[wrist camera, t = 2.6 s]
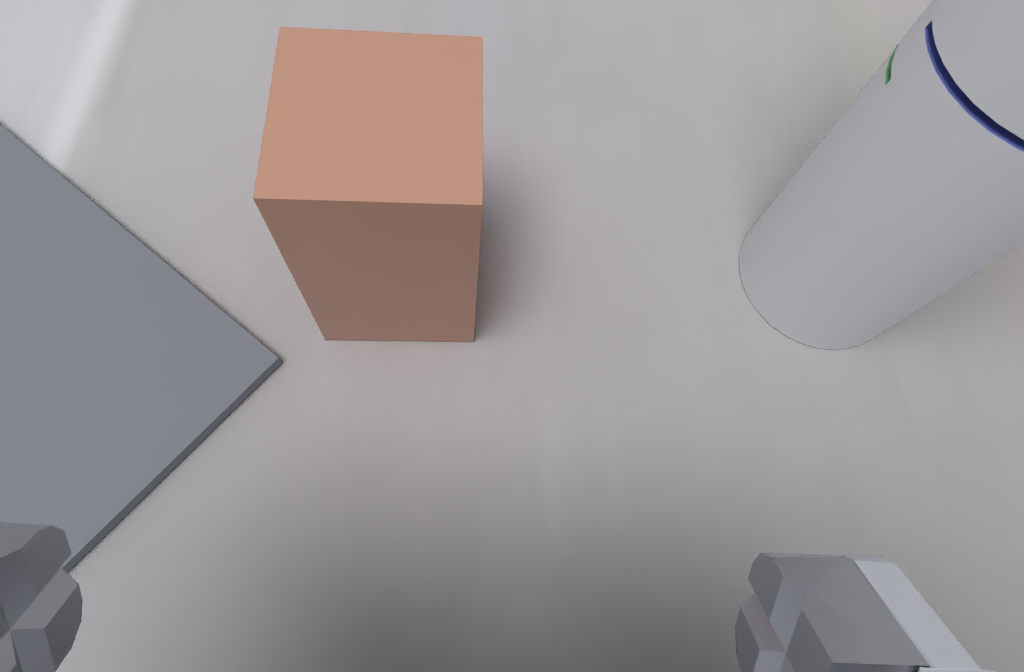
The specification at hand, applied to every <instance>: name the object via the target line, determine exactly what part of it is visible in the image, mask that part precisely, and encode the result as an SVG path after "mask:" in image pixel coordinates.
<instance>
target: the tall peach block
mask: <svg viewBox="0 0 1024 672" xmlns="http://www.w3.org/2000/svg"><path fill="white" fill-rule="evenodd" d="M253 199H254V201H255V203H256V205H257V207H258V209H259V211H260V213H261V215H262V217H263V219H264V221H265V223H266V225H267V226H268V228H269V230H270V232H271V234H272V236H273V238H274V240H275V242H276V244H277V246H278V248H279V250H280V252H281V254H282V256H283V258H284V260H285V262H286V264H287V266H288V268H289V270H290V272H291V274H292V276H293V278H294V280H295V281H296V283H297V285H298V287H299V289H300V291H301V293H302V295H303V297H304V299H305V301H306V303H307V305H308V307H309V309H310V311H311V313H312V315H313V317H314V319H315V321H316V323H317V325H318V327H319V329H320V331H321V333H322V334H323V336H324V338H325V340H377V341H456V342H474V330H475V315H476V300H477V285H478V270H479V254H480V239H481V224H482V209H483V37H471V36H451V35H431V34H411V33H392V32H372V31H352V30H332V29H312V28H293V27H280V31H279V37H278V43H277V50H276V56H275V62H274V69H273V75H272V81H271V88H270V94H269V101H268V107H267V113H266V120H265V126H264V132H263V139H262V145H261V151H260V158H259V164H258V171H257V177H256V183H255V190H254V196H253Z"/></svg>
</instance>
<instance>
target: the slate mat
mask: <svg viewBox="0 0 1024 672" xmlns="http://www.w3.org/2000/svg"><path fill="white" fill-rule="evenodd" d="M281 364H282V362H281V360H280V359H279V358H278V357H277V356H276V355H275V354H274V353H272V352H271V351H270V350H269V349H268V348H266V347H265V346H264V345H263V344H262V343H260V342H259V341H258V340H257V339H256V338H254V337H253V336H252V335H251V334H250V333H249V332H247V331H246V330H245V329H244V328H243V327H241V326H240V325H239V324H238V323H237V322H235V321H234V320H233V319H232V318H231V317H229V316H228V315H227V314H226V313H225V312H223V311H222V310H221V309H220V308H219V307H218V306H216V305H215V304H214V303H213V302H212V301H210V300H209V299H208V298H207V297H206V296H204V295H203V294H202V293H201V292H200V291H198V290H197V289H196V288H195V287H194V286H193V285H191V284H190V283H189V282H188V281H187V280H185V279H184V278H183V277H182V276H181V275H179V274H178V273H177V272H176V271H175V270H173V269H172V268H171V267H170V266H169V265H167V264H166V263H165V262H164V261H163V260H162V259H160V258H159V257H158V256H157V255H156V254H154V253H153V252H152V251H151V250H150V249H148V248H147V247H146V246H145V245H144V244H142V243H141V242H140V241H139V240H138V239H137V238H135V237H134V236H133V235H132V234H131V233H129V232H128V231H127V230H126V229H125V228H123V227H122V226H121V225H120V224H119V223H117V222H116V221H115V220H114V219H113V218H111V217H110V216H109V215H108V214H107V213H106V212H104V211H103V210H102V209H101V208H100V207H98V206H97V205H96V204H95V203H94V202H92V201H91V200H90V199H89V198H88V197H86V196H85V195H84V194H83V193H82V192H81V191H79V190H78V189H77V188H76V187H75V186H73V185H72V184H71V183H70V182H69V181H67V180H66V179H65V178H64V177H63V176H61V175H60V174H59V173H58V172H57V171H56V170H54V169H53V168H52V167H51V166H50V165H48V164H47V163H46V162H45V161H44V160H42V159H41V158H40V157H39V156H38V155H36V154H35V153H34V152H33V151H32V150H30V149H29V148H28V147H27V146H26V145H25V144H23V143H22V142H21V141H20V140H19V139H17V138H16V137H15V136H14V135H13V134H11V133H10V132H9V131H8V130H7V129H5V128H4V127H3V126H2V125H1V124H0V522H5V523H21V524H37V525H52V526H55V527H57V528H59V529H62V530H64V531H65V534H66V537H67V540H68V544H69V547H70V550H71V555H70V556H69V558H68V559H67V561H66V562H65V563H64V565H63V566H62V569H63V570H64V571H65V572H66V573H68V572H69V571H70V570H71V569H72V568H73V567H74V566H75V565H76V564H77V563H78V562H79V561H80V560H81V559H82V558H83V557H84V556H86V555H87V554H88V553H89V552H90V551H91V550H92V549H93V548H94V547H95V546H96V545H97V544H98V543H99V542H100V541H101V540H102V539H103V538H104V537H105V536H106V535H107V534H108V533H109V532H110V531H111V530H112V529H113V528H114V527H115V526H116V525H117V524H118V523H119V522H120V521H121V520H122V519H123V518H124V517H125V516H126V515H127V514H128V513H129V512H130V511H132V510H133V509H134V508H135V507H136V506H137V505H138V504H139V503H140V502H141V501H142V500H143V499H144V498H145V497H146V496H147V495H148V494H149V493H150V492H151V491H152V490H153V489H154V488H155V487H156V486H157V485H158V484H159V483H160V482H161V481H162V480H163V479H164V478H165V477H166V476H167V475H168V474H169V473H170V472H171V471H172V470H173V469H174V468H175V467H177V466H178V465H179V464H180V463H181V462H182V461H183V460H184V459H185V458H186V457H187V456H188V455H189V454H190V453H191V452H192V451H193V450H194V449H195V448H196V447H197V446H198V445H199V444H200V443H201V442H202V441H203V440H204V439H205V438H206V437H207V436H208V435H209V434H210V433H211V432H212V431H213V430H214V429H215V428H216V427H217V426H218V425H219V424H220V423H221V422H223V421H224V420H225V419H226V418H227V417H228V416H229V415H230V414H231V413H232V412H233V411H234V410H235V409H236V408H237V407H238V406H239V405H240V404H241V403H242V402H243V401H244V400H245V399H246V398H247V397H248V396H249V395H250V394H251V393H252V392H253V391H254V390H255V389H256V388H257V387H258V386H259V385H260V384H261V383H262V382H263V381H264V380H265V379H266V378H268V377H269V376H270V375H271V374H272V373H273V372H274V371H275V370H276V369H277V368H278V367H279V366H280V365H281Z"/></svg>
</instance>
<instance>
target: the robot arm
mask: <svg viewBox="0 0 1024 672" xmlns="http://www.w3.org/2000/svg"><path fill="white" fill-rule="evenodd" d="M70 555H71V550H70V547H69V544H68V540H67V537H66V534H65V531H64V530H62V529H59V528H57V527H55V526H52V525H37V524H21V523H5V522H0V672H55V671H56V670H57V668H58V667H59V666H60V664H61V663H62V661H63V660H64V658H65V657H66V655H67V654H68V652H69V651H70V649H71V648H72V645H73V642H74V640H75V637H76V634H77V631H78V629H79V626H80V623H81V617H82V596H81V592H80V587H79V584H78V583H77V582H76V581H75V580H74V579H73V578H72V577H71V576H70V575H68V574H67V573H66V572H65V571H64V570H63V569H62V566H63V565H64V563H65V562H66V561H67V559H68V558H69V556H70ZM748 579H749V581H750V583H751V585H752V587H753V589H754V591H755V594H754V595H753V596H752V597H751V598H750V599H748V600H747V601H746V602H745V603H744V604H742V605H741V606H740V610H739V614H738V618H737V622H736V626H735V635H736V653H737V657H738V662H739V666H740V670H741V672H997V671H996V670H982V669H981V668H980V667H979V666H978V665H977V664H976V662H975V661H974V660H973V659H972V657H971V656H970V655H969V654H968V652H967V651H966V650H965V649H964V648H963V646H962V645H961V644H960V643H959V641H958V640H957V639H956V638H955V636H954V635H953V634H952V633H951V632H950V630H949V629H948V628H947V627H946V625H945V624H944V623H943V622H942V620H941V619H940V618H939V617H938V616H937V614H936V613H935V612H934V611H933V609H932V608H931V607H930V606H929V605H928V603H927V602H926V601H925V600H924V598H923V597H922V596H921V595H920V593H919V592H918V591H917V590H916V589H915V587H914V586H913V585H912V584H911V582H910V581H909V580H908V579H907V577H906V576H905V575H904V574H903V573H902V571H901V570H900V569H899V568H898V566H897V565H896V564H895V563H894V562H892V561H891V560H889V559H887V558H886V557H884V556H875V555H841V556H835V555H805V554H773V553H760V554H759V556H758V557H757V558H756V559H755V561H754V562H753V565H752V568H751V571H750V574H749V578H748Z"/></svg>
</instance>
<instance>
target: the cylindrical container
mask: <svg viewBox="0 0 1024 672" xmlns="http://www.w3.org/2000/svg"><path fill="white" fill-rule="evenodd" d="M1023 243H1024V0H933V1H932V2H931V4H930V5H929V6H928V7H927V9H926V10H925V11H924V12H923V14H922V15H921V16H920V17H919V19H918V20H917V21H916V22H915V24H914V25H913V26H912V27H911V29H910V30H909V31H908V32H907V34H906V35H905V36H904V37H903V39H902V41H901V42H900V43H899V44H898V45H897V46H896V48H895V49H894V50H893V51H892V53H891V54H890V55H889V56H888V58H887V59H886V60H885V61H884V63H883V64H882V65H881V66H880V68H879V69H878V70H877V71H876V73H875V74H874V75H873V76H872V78H871V79H870V80H869V81H868V83H867V84H866V85H865V87H864V88H863V89H862V90H861V92H860V93H859V94H858V95H857V97H856V98H855V99H854V100H853V102H852V103H851V104H850V105H849V107H848V108H847V109H846V110H845V112H844V113H843V114H842V115H841V117H840V118H839V119H838V120H837V122H836V123H835V124H834V126H833V127H832V128H831V129H830V131H829V132H828V133H827V134H826V136H825V137H824V138H823V139H822V141H821V142H820V143H819V144H818V146H817V147H816V148H815V149H814V151H813V152H812V153H811V154H810V156H809V157H808V158H807V159H806V161H805V162H804V163H803V164H802V166H801V167H800V168H799V170H798V171H797V172H796V173H795V175H794V176H793V177H792V178H791V180H790V181H789V182H788V183H787V185H786V186H785V187H784V188H783V190H782V191H781V192H780V193H779V195H778V196H777V197H776V198H775V200H774V201H773V202H772V203H771V205H770V206H769V207H768V209H767V210H766V211H765V212H764V214H763V215H762V216H761V217H760V219H759V220H758V221H757V222H756V224H755V225H754V226H753V227H752V229H751V230H750V231H749V232H748V234H747V236H746V238H745V240H744V242H743V244H742V247H741V252H740V257H739V269H740V275H741V280H742V284H743V286H744V289H745V291H746V294H747V296H748V298H749V300H750V301H751V303H752V304H753V306H754V307H755V309H756V310H757V312H758V313H759V314H760V315H761V316H762V317H763V318H764V319H765V320H766V321H767V322H768V323H769V324H770V325H771V326H773V327H774V328H775V329H777V330H778V331H779V332H781V333H782V334H783V335H785V336H787V337H789V338H791V339H793V340H795V341H797V342H799V343H802V344H805V345H808V346H812V347H815V348H822V349H829V350H830V349H846V348H850V347H854V346H858V345H860V344H862V343H864V342H866V341H868V340H870V339H872V338H874V337H875V336H877V335H878V334H880V333H881V332H883V331H885V330H886V329H888V328H889V327H891V326H893V325H894V324H896V323H897V322H899V321H900V320H902V319H904V318H905V317H907V316H908V315H910V314H912V313H913V312H915V311H916V310H918V309H919V308H921V307H923V306H924V305H926V304H927V303H929V302H931V301H932V300H934V299H935V298H937V297H938V296H940V295H942V294H943V293H945V292H946V291H948V290H950V289H951V288H953V287H954V286H956V285H957V284H959V283H961V282H962V281H964V280H965V279H967V278H969V277H970V276H972V275H973V274H975V273H976V272H978V271H980V270H981V269H983V268H984V267H986V266H988V265H989V264H991V263H992V262H994V261H996V260H997V259H999V258H1000V257H1002V256H1004V255H1005V254H1007V253H1009V252H1010V251H1012V250H1013V249H1015V248H1017V247H1018V246H1020V245H1021V244H1023Z"/></svg>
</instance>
